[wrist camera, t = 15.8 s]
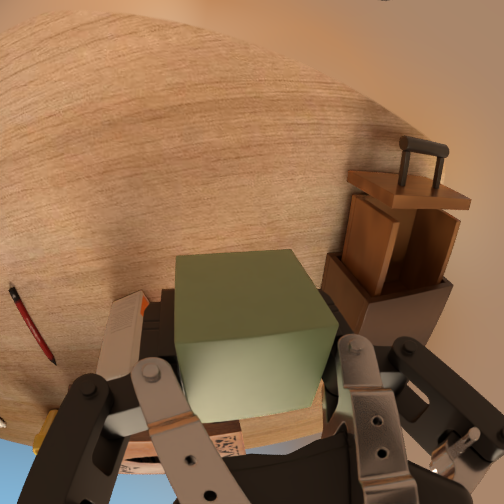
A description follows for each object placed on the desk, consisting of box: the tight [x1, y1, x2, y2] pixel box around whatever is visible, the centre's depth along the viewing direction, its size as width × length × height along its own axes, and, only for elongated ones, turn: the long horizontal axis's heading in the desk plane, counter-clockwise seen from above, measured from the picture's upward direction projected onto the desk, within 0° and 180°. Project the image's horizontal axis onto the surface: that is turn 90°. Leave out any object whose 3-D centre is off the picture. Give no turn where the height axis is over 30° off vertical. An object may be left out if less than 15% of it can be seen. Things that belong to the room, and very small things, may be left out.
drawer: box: [341, 136, 471, 298], centre depth 28 cm, size 19×11×8 cm, turn 178°
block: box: [174, 249, 339, 423], centre depth 10 cm, size 4×4×4 cm
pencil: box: [9, 287, 57, 366], centre depth 30 cm, size 1×14×1 cm, turn 4°
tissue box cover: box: [68, 385, 246, 474], centre depth 37 cm, size 26×14×10 cm, turn 93°
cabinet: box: [321, 252, 453, 346], centre depth 34 cm, size 16×13×10 cm
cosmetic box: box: [96, 290, 150, 381], centre depth 27 cm, size 6×4×12 cm
